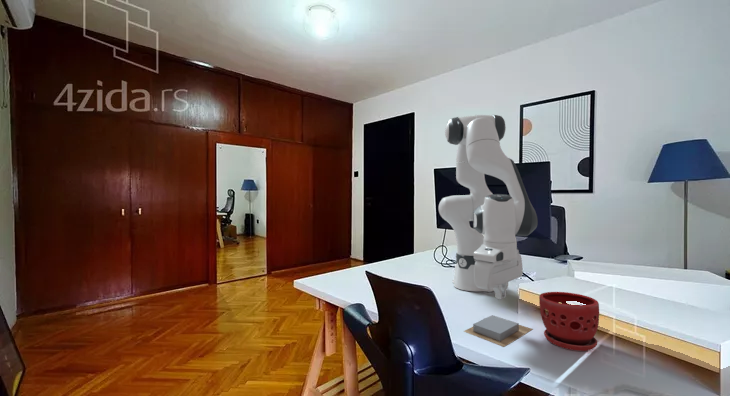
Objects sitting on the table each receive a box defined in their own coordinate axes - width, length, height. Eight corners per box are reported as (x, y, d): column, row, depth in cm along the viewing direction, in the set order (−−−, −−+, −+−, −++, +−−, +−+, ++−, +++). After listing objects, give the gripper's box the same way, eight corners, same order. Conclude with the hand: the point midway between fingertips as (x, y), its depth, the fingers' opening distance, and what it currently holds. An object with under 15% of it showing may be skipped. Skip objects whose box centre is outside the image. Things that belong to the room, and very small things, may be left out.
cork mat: (493, 318, 98) (493, 316, 98) (533, 331, 89) (533, 329, 89) (463, 333, 88) (463, 331, 88) (503, 349, 79) (503, 346, 79)
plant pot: (610, 346, 79) (609, 299, 79) (581, 361, 73) (580, 310, 72) (558, 328, 90) (557, 286, 90) (529, 338, 84) (528, 294, 84)
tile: (492, 315, 94) (473, 324, 88) (518, 323, 88) (500, 333, 82) (492, 322, 94) (473, 331, 88) (518, 330, 88) (500, 341, 82)
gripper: (507, 244, 99) (508, 287, 99) (469, 254, 86) (470, 303, 87) (528, 247, 94) (528, 292, 94) (490, 257, 81) (491, 309, 82)
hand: (500, 297), depth 90 cm, fingers closed
